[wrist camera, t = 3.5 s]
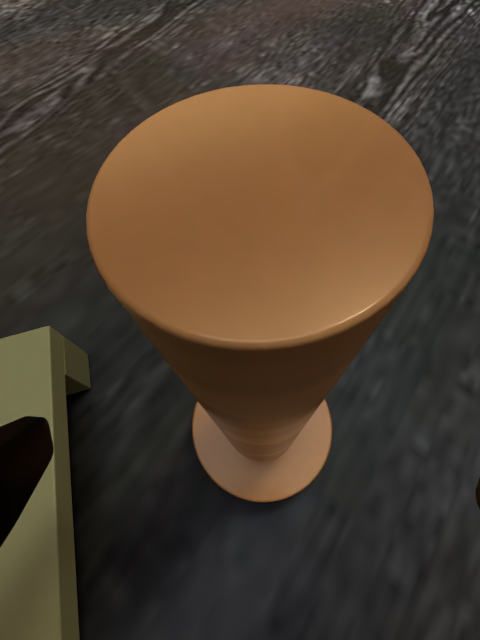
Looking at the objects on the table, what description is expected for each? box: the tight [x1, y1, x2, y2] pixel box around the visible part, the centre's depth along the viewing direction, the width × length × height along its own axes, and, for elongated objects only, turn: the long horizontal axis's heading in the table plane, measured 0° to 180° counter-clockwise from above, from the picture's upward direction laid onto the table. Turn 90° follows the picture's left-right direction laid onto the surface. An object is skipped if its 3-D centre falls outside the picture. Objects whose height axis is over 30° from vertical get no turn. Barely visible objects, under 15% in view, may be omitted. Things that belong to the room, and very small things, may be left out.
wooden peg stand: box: [86, 84, 434, 502], centre depth 10 cm, size 6×6×15 cm
